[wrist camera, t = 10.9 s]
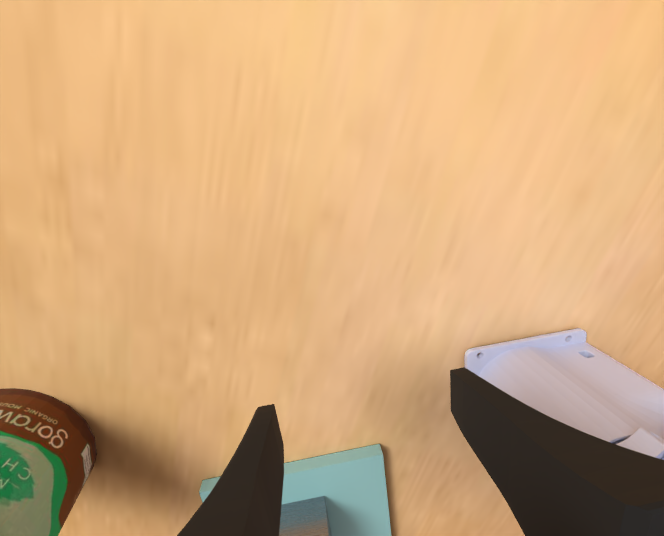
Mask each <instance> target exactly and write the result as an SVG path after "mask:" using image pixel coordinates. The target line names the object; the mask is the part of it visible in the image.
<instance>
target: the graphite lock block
mask: <svg viewBox="0 0 664 536" xmlns="http://www.w3.org/2000/svg"><path fill="white" fill-rule="evenodd" d="M279 536H332V534H331V528H330V523H329V517H328V512H327V506H326V501H325V496H320V497H316V498H311V499H306V500H301V501H297V502H292V503H287V504H282V505H281V517H280V530H279Z"/></svg>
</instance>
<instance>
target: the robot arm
mask: <svg viewBox="0 0 664 536" xmlns="http://www.w3.org/2000/svg"><path fill="white" fill-rule="evenodd" d="M586 336H587V334H586V331H584V330H582V329H580V328H577V329H572V330H566V331H561V332H556V333H550V334H545V335H540V336H534V337H529V338H524V339H518V340H513V341H508V342H502V343H497V344H492V345H486V346H481V347H476V348H471V349H468V350H467V351H466V352H465V368H459V369H454V370H450V381H451V412H452V414H453V416H454V418H455V420H456V422H457V424H458V426H459V428H460V430H461V432H462V434H463V435H464V437H465V438H466V440H467V442H468V443H469V445H470V446H471V448H472V449H473V451H474V452H475V454H476V455H477V457H478V458H479V460H480V461H481V463H482V464H483V466H484V467H485V469H486V470H487V472H488V473H489V475H490V476H491V478H492V479H493V481H494V482H495V484H496V485H497V487H498V488H499V490H500V492H501V493H502V495H503V496H504V498H505V500H506V501H507V503H508V505H509V507H510V509H511V510H512V512H513V514H514V516H515V518H516V519H517V521H518V523H519V525H520V527H521V529H522V530H523V532H524V534H525V536H664V389H663V388H661V387H659V386H658V385H656V384H654V383H653V382H651V381H649V380H648V379H646V378H645V377H643V376H641V375H640V374H638V373H636V372H635V371H633V370H631V369H630V368H628V367H626V366H625V365H623V364H621V363H620V362H618V361H616V360H615V359H613V358H611V357H610V356H608V355H606V354H605V353H603V352H601V351H600V350H598V349H596V348H595V347H593V346H591V345H590V344H588V343H586ZM566 337H567V338H566ZM478 353H480V354H479V355H477V354H478ZM283 480H284V449H283V441H282V436H281V432H280V428H279V423H278V419H277V415H276V410H275V406H274V404H272V405H267V406H261V407H258V408H257V410H256V412H255V414H254V416H253V418H252V420H251V423H250V425H249V427H248V429H247V431H246V433H245V435H244V437H243V439H242V441H241V442H240V444H239V446H238V448H237V450H236V452H235V454H234V455H233V457H232V459H231V461H230V462H229V464H228V465H227V467H226V469H225V470H224V472H223V474H222V475H221V477H220V479H219V480H218V482H217V483H216V485H215V486H214V488H213V489H212V491H211V492H210V494H209V495H208V496H207V498H206V499H205V501H204V502H203V503H202V505H201V506H200V508H199V509H198V510H197V511H196V513H195V514H194V515H193V517H192V518H191V519H190V521H189V522H188V523H187V524H186V526H185V527H184V528H183V529H182V531H181V532H180V533H179V534H178V535H177V536H279V530H280V517H281V505H282V493H283Z"/></svg>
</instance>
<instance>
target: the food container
mask: <svg viewBox="0 0 664 536" xmlns="http://www.w3.org/2000/svg"><path fill="white" fill-rule="evenodd" d="M96 455H97V453H96V444H95V437H94V435H93V433H92V432H91V430H90V428H89V426H88V424H87V423H86V421H85V420H84V419H83V418H82V417H81V416H80V415H79V414H78V413H77V412H75V411H74V410H73V409H72V408H71V407H70V406H69V405H67V404H65V403H63V402H61V401H59V400H57V399H55V398H54V397H51V396H48V395H46V394H43V393H39V392H35V391H31V390H24V389H0V536H58V534H59V532H60V530H61V528H62V526H63V524H64V523H65V521H66V519H67V517H68V515H69V513H70V511H71V509H72V507H73V505H74V503H75V501H76V499H77V497H78V495H79V493H80V491H81V489H82V488H83V486H84V484H85V482H86V480H87V478H88V476H89V474H90V472H91V470H92V468H93V466H94V462H95V459H96Z"/></svg>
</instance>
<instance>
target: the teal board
mask: <svg viewBox="0 0 664 536" xmlns="http://www.w3.org/2000/svg"><path fill="white" fill-rule="evenodd" d="M220 477H221V476H220ZM220 477H216V478H211V479H206V480H203V481H202V484H201V488H200V491H199V494H200V496H201V499H202V502H204V501H205V499H206V498H207V496H208V495H209V494H210V492H211V491H212V489H213V488H214V486H215V485H216V483H217V482H218V480H219V479H220ZM320 496H325V501H326V506H327V512H328V517H329V523H330V528H331V534H332V536H391V527H390V518H389V508H388V498H387V489H386V479H385V469H384V460H383V453H382V450H381V447H380V444H376V445H371V446H366V447H361V448H356V449H351V450H347V451H342V452H337V453H332V454H327V455H322V456H317V457H313V458H308V459H303V460H298V461H293V462H288V463H284V480H283V493H282V504H287V503H292V502H297V501H301V500H306V499H311V498H316V497H320Z"/></svg>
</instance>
